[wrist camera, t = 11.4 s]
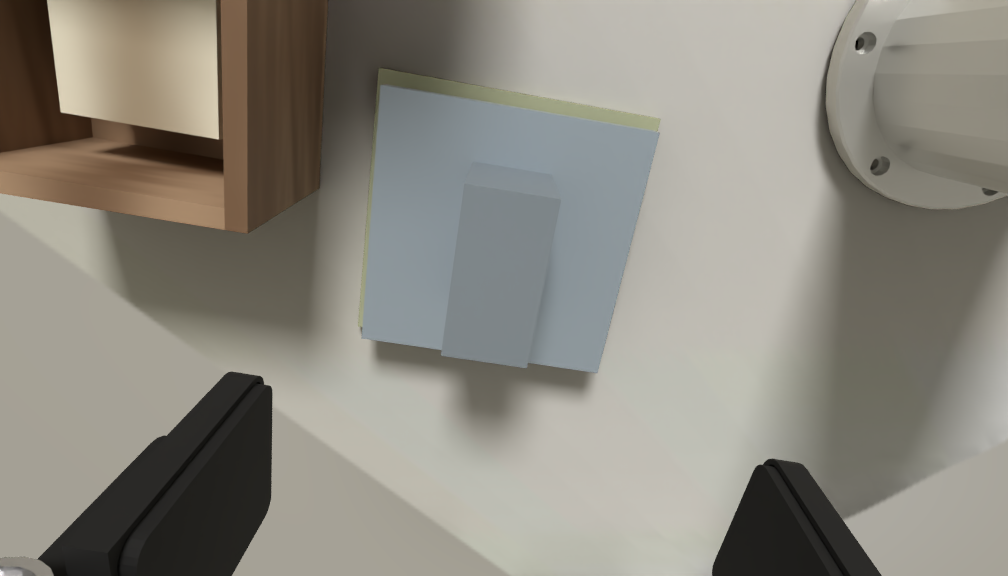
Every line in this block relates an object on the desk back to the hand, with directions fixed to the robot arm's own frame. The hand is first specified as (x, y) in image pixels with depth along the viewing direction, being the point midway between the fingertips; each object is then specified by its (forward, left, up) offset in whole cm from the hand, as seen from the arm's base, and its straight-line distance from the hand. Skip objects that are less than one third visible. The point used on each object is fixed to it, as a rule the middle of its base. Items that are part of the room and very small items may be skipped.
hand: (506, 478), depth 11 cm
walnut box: (+15, -6, -18) cm, 24 cm away
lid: (0, 0, -18) cm, 18 cm away
